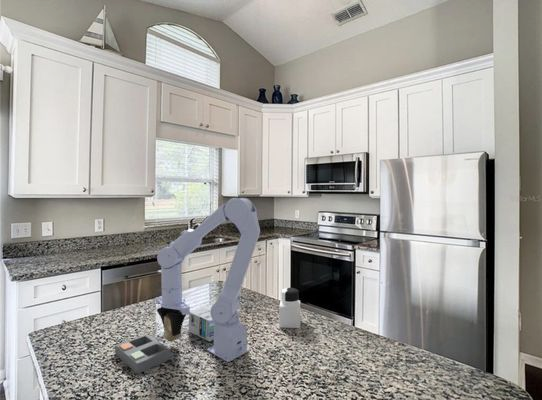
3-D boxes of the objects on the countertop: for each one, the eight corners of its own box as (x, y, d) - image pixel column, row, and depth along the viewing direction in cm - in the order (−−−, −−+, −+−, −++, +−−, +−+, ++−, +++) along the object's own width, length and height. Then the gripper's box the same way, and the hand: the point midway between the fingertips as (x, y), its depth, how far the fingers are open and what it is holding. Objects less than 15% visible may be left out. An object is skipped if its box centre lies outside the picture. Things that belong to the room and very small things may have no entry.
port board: (170, 358, 80) (170, 348, 80) (137, 373, 73) (137, 362, 73) (146, 342, 89) (146, 332, 89) (115, 354, 83) (115, 343, 83)
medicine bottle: (300, 319, 105) (300, 286, 105) (300, 328, 98) (300, 292, 98) (280, 319, 106) (280, 285, 106) (279, 327, 99) (278, 292, 99)
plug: (181, 337, 87) (180, 313, 87) (170, 341, 85) (170, 317, 85) (174, 334, 89) (174, 310, 89) (164, 338, 87) (163, 314, 87)
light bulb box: (188, 332, 96) (208, 343, 89) (188, 311, 96) (209, 320, 89) (213, 321, 104) (234, 330, 97) (214, 302, 104) (235, 310, 97)
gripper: (198, 288, 85) (198, 334, 86) (170, 279, 95) (170, 321, 95) (177, 294, 80) (177, 344, 80) (149, 285, 89) (150, 329, 89)
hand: (172, 332), depth 87 cm, fingers closed on plug, 3 cm apart
